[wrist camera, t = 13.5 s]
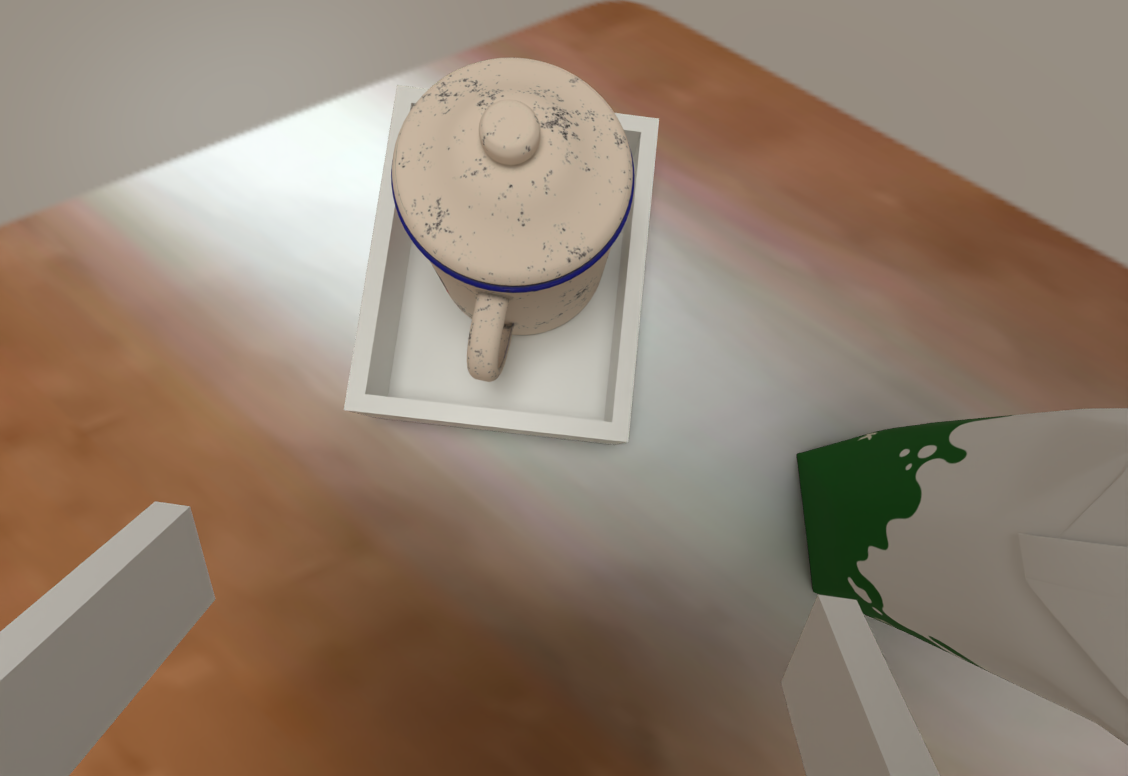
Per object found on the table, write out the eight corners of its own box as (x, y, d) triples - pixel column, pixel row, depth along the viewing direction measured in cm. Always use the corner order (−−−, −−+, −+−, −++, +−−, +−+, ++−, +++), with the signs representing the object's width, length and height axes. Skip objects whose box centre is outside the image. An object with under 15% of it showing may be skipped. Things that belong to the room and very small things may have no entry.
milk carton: (797, 611, 28) (1387, 962, 9) (776, 435, 30) (1257, 385, 10) (961, 597, 29) (1884, 901, 9) (935, 424, 30) (1705, 356, 10)
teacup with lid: (455, 160, 30) (400, -31, 18) (621, 194, 30) (672, 25, 18) (404, 377, 28) (308, 319, 17) (580, 412, 28) (606, 378, 17)
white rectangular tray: (642, 167, 31) (658, 118, 27) (615, 444, 29) (628, 441, 25) (417, 139, 31) (396, 85, 26) (374, 417, 29) (344, 410, 24)
